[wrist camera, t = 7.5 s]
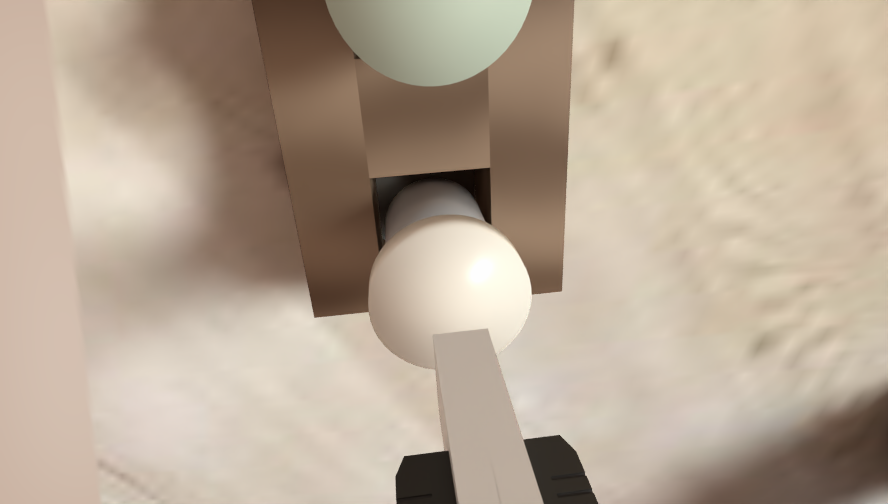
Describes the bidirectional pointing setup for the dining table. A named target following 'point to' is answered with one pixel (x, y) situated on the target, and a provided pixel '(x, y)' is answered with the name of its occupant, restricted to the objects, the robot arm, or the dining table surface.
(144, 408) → the dining table surface
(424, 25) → the knob middle
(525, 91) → the panel
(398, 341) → the knob
